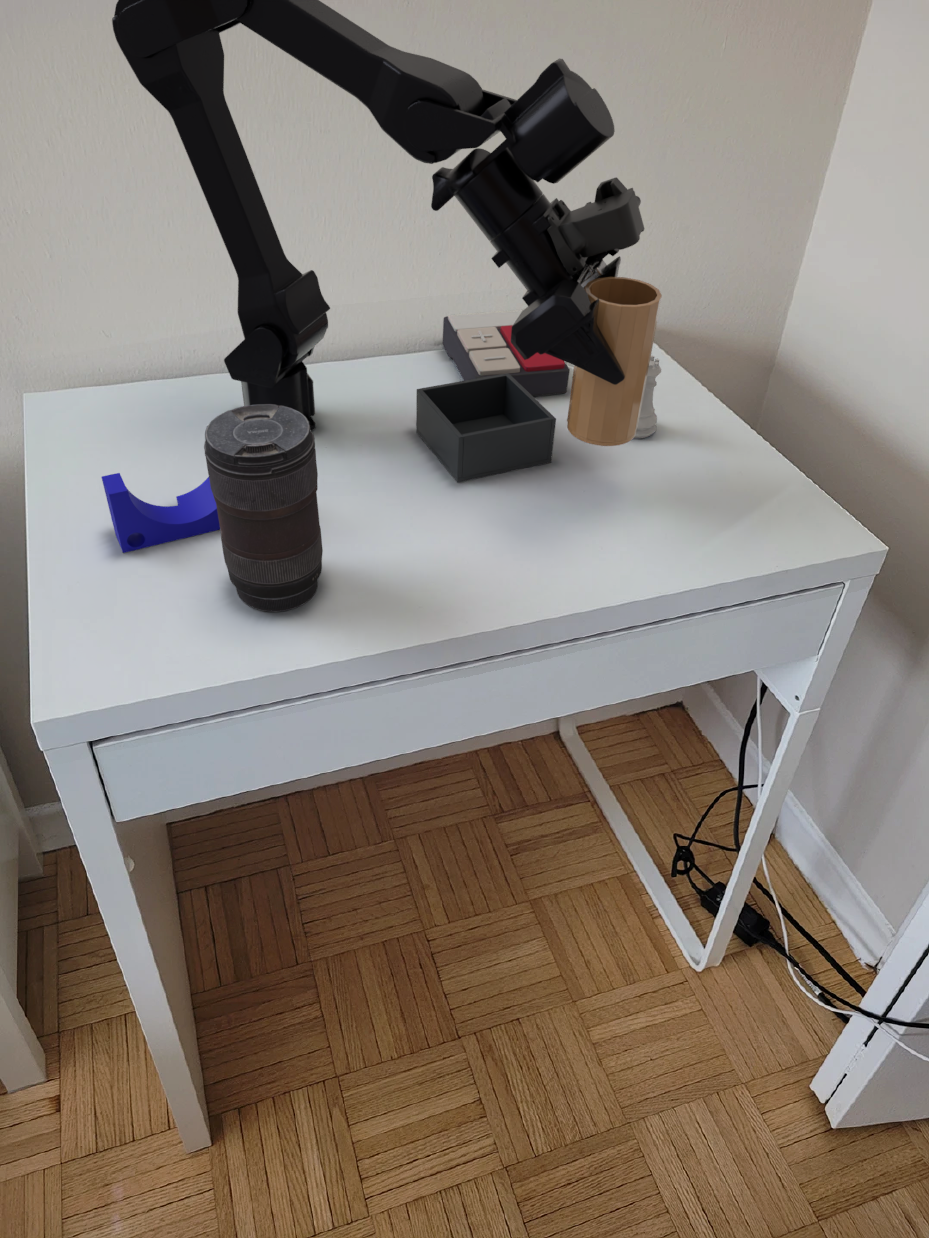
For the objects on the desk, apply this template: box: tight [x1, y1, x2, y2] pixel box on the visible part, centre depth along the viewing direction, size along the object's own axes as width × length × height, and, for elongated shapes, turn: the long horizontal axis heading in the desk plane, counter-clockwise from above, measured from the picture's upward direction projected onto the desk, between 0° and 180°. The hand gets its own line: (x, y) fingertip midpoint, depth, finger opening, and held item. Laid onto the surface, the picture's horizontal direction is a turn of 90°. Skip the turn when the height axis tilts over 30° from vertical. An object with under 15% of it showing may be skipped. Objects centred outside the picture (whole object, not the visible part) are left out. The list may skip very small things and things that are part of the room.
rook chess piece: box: [633, 355, 662, 439], centre depth 99 cm, size 4×4×8 cm
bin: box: [415, 373, 557, 483], centre depth 96 cm, size 10×10×5 cm
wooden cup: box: [566, 276, 663, 447], centre depth 84 cm, size 6×6×13 cm
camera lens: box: [203, 404, 324, 613], centre depth 74 cm, size 8×8×15 cm
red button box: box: [442, 309, 570, 397], centre depth 111 cm, size 11×4×15 cm
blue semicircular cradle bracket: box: [101, 472, 220, 554], centre depth 84 cm, size 12×4×6 cm, turn 118°
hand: (627, 365), depth 84 cm, fingers closed on wooden cup, 6 cm apart
